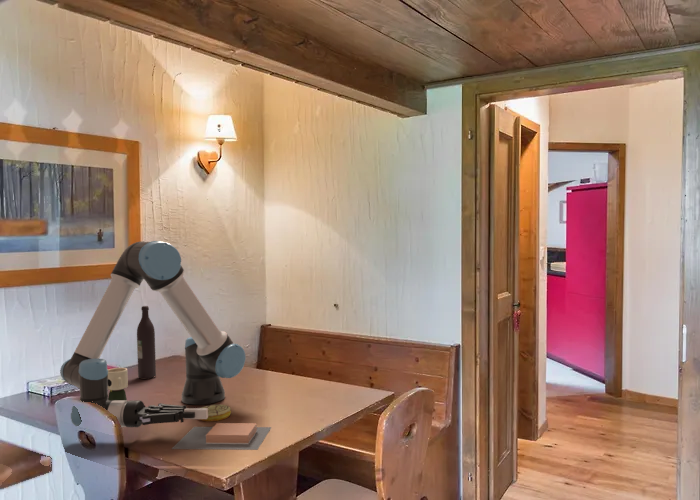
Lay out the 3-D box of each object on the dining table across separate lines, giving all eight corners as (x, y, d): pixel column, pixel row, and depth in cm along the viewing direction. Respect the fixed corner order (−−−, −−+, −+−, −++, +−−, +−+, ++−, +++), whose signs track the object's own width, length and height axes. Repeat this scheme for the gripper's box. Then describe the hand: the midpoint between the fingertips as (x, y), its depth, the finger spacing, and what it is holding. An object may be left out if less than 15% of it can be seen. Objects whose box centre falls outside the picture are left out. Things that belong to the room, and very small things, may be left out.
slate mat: (194, 428, 176) (194, 426, 176) (271, 429, 174) (271, 427, 174) (171, 450, 158) (171, 448, 158) (257, 451, 156) (257, 449, 156)
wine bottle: (143, 375, 245) (141, 305, 244) (159, 375, 244) (156, 305, 243) (134, 379, 238) (132, 307, 237) (151, 379, 237) (148, 307, 236)
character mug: (103, 405, 202) (102, 368, 202) (124, 401, 206) (123, 365, 206) (110, 412, 193) (108, 374, 193) (132, 408, 197) (130, 371, 197)
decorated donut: (208, 412, 192) (208, 401, 192) (236, 415, 189) (236, 403, 188) (190, 422, 182) (190, 410, 182) (219, 425, 179) (219, 413, 179)
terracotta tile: (216, 423, 171) (256, 423, 170) (217, 431, 171) (256, 431, 170) (205, 434, 161) (248, 435, 160) (206, 443, 161) (248, 444, 160)
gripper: (137, 419, 173) (214, 419, 172) (117, 434, 160) (200, 434, 159) (136, 394, 173) (213, 394, 172) (116, 407, 160) (199, 407, 159)
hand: (207, 413), depth 165 cm, fingers closed
